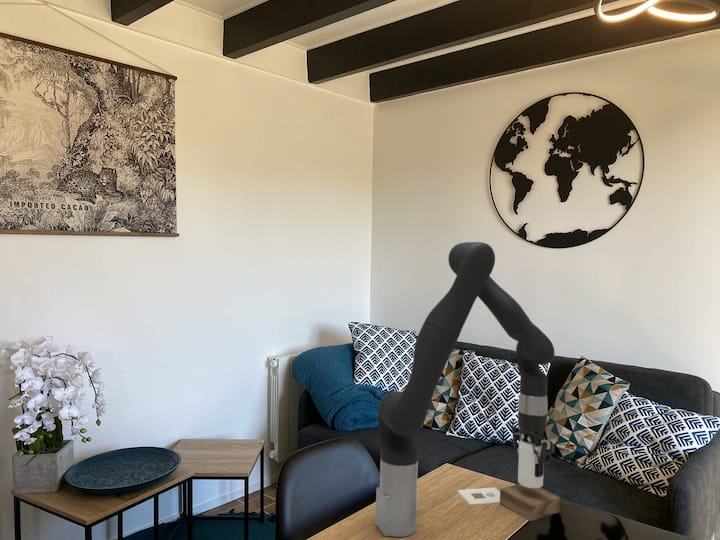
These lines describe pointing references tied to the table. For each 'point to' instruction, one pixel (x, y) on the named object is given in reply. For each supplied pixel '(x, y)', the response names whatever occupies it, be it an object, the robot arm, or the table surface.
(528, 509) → the base block
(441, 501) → the table surface
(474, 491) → the page
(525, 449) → the can
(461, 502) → the table surface
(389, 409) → the robot arm
